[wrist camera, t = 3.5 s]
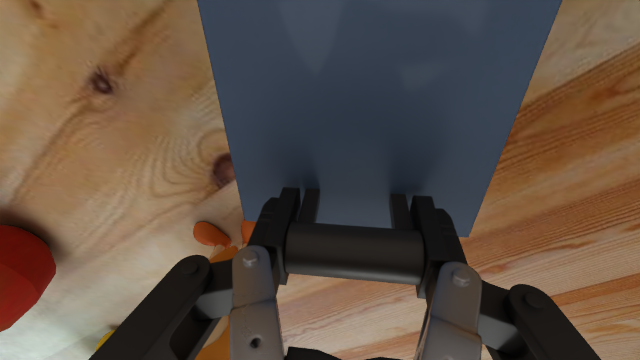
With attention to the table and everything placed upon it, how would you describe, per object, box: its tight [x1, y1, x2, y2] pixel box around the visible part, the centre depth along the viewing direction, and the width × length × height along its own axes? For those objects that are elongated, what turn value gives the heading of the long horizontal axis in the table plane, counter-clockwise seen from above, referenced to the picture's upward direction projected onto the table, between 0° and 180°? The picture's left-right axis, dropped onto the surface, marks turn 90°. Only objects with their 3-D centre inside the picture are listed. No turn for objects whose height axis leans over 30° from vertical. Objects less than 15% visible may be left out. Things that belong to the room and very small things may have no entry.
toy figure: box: [193, 219, 256, 360], centre depth 23 cm, size 12×8×15 cm
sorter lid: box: [197, 0, 562, 285], centre depth 10 cm, size 14×12×5 cm
